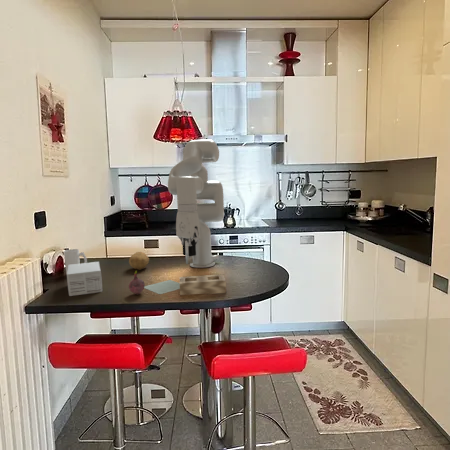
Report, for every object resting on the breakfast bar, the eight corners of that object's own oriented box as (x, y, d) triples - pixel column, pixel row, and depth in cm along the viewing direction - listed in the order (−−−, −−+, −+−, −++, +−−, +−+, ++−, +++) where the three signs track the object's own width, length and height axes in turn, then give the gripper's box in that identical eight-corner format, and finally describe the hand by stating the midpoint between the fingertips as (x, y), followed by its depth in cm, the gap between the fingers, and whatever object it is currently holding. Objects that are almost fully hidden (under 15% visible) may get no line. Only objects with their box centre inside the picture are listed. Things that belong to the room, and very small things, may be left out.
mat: (170, 280, 168) (170, 279, 168) (188, 287, 158) (188, 286, 158) (141, 287, 159) (141, 287, 159) (159, 295, 149) (159, 294, 149)
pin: (190, 261, 152) (189, 237, 151) (195, 262, 150) (193, 237, 148) (184, 263, 150) (183, 238, 149) (188, 264, 148) (187, 238, 146)
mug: (64, 277, 180) (61, 252, 178) (68, 273, 186) (65, 249, 185) (86, 275, 181) (84, 251, 179) (89, 272, 188) (87, 248, 186)
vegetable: (127, 298, 147) (125, 272, 145) (131, 292, 153) (129, 268, 152) (143, 297, 147) (141, 272, 145) (146, 292, 153) (145, 268, 152)
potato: (127, 273, 183) (126, 257, 182) (131, 266, 197) (130, 251, 196) (148, 272, 184) (147, 256, 183) (150, 265, 198) (149, 250, 197)
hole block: (223, 285, 158) (223, 274, 157) (226, 292, 149) (225, 280, 148) (180, 288, 156) (179, 277, 155) (180, 296, 147) (179, 283, 146)
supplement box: (69, 285, 167) (67, 264, 166) (100, 281, 172) (99, 261, 170) (68, 296, 152) (66, 273, 150) (102, 292, 156) (101, 269, 155)
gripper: (167, 208, 151) (169, 254, 153) (192, 210, 139) (194, 259, 141) (183, 207, 156) (185, 251, 158) (208, 208, 144) (210, 256, 146)
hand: (189, 254), depth 149 cm, fingers closed on pin, 3 cm apart
